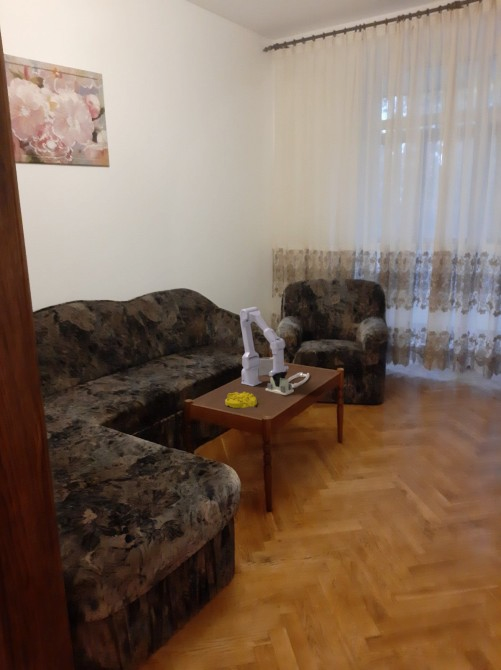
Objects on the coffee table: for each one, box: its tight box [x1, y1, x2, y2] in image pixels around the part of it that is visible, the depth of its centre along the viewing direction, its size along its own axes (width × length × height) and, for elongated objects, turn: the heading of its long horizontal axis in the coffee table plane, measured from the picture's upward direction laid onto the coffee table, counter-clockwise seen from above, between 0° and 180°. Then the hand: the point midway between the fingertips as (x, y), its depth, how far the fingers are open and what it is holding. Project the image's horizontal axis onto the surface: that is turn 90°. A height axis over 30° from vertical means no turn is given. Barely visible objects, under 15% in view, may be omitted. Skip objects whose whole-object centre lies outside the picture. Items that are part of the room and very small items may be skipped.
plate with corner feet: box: [265, 382, 295, 396], centre depth 271 cm, size 14×7×4 cm, turn 48°
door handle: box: [287, 371, 310, 390], centre depth 285 cm, size 3×10×25 cm
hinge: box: [258, 356, 273, 377], centre depth 301 cm, size 14×5×10 cm, turn 105°
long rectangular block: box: [269, 376, 289, 392], centre depth 270 cm, size 10×3×6 cm, turn 48°
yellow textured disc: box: [224, 391, 258, 409], centre depth 257 cm, size 16×16×4 cm
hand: (279, 385), depth 270 cm, fingers closed on long rectangular block, 3 cm apart
